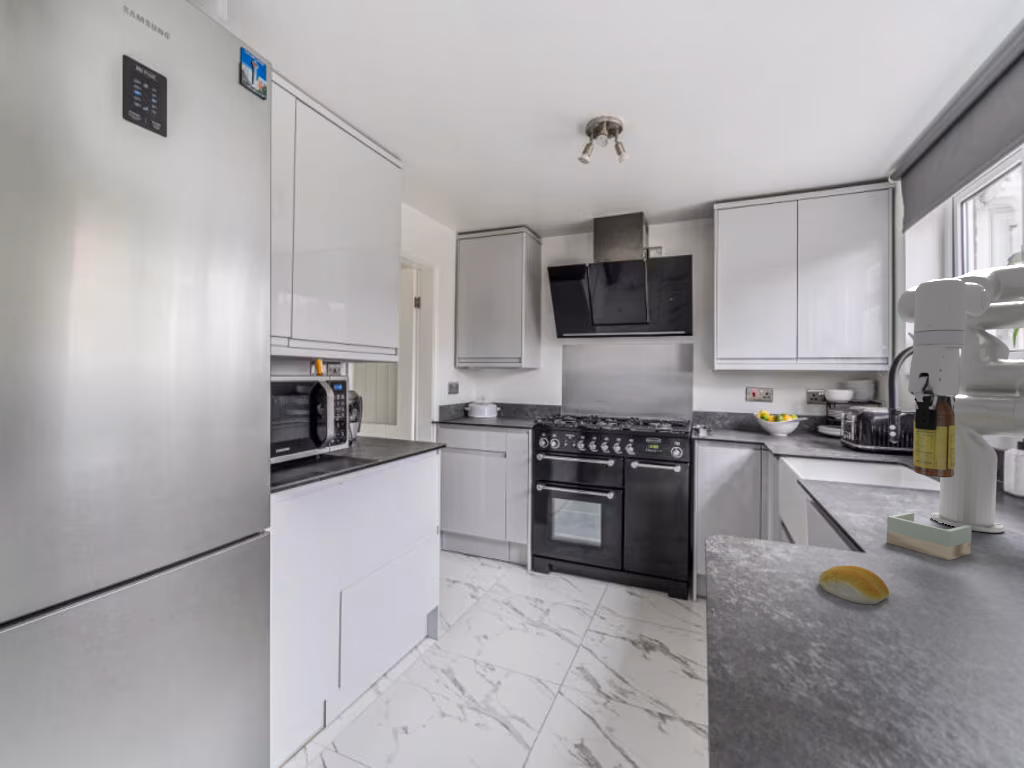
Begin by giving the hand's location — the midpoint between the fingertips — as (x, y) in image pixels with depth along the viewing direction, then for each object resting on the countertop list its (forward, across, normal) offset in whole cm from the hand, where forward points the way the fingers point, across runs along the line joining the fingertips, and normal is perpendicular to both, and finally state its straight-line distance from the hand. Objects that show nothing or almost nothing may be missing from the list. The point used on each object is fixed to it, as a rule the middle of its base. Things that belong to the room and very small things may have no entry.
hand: (934, 428), depth 91 cm
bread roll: (+25, +38, +5) cm, 46 cm away
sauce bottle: (+10, 0, 0) cm, 10 cm away
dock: (+25, +1, 0) cm, 25 cm away
